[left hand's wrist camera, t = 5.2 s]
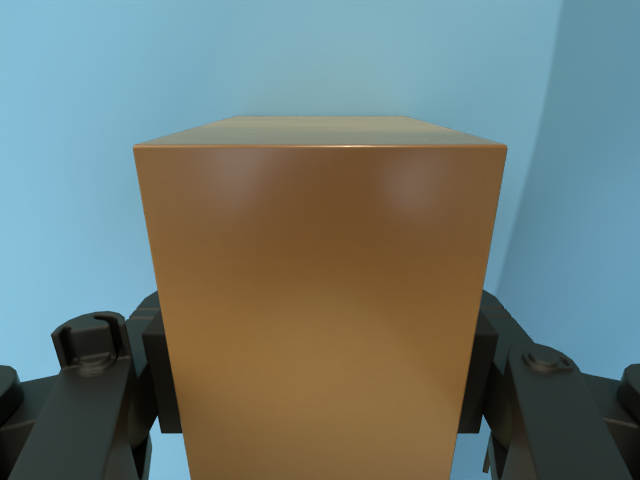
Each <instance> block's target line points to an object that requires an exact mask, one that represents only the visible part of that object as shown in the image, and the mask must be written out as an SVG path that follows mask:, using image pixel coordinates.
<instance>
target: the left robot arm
mask: <svg viewBox="0 0 640 480" xmlns="http://www.w3.org/2000/svg"><path fill="white" fill-rule="evenodd" d="M51 337H52V340H53V343H54V347H55V350H56V353H57V357H58V360H59V363H60V366H61V370H60V372H59V374H58V375H55V376H50V377H45V378H40V379H35V380H31V381H26V382H21V383H20V380H19V377H18V375H17V372H16V370H15V369H13V368H12V367H10V366H4V365H0V480H148V478H149V470H150V461H151V453H152V443H151V437H150V433H149V431H150V429H151V427H152V425H153V423H154V421H155V419H156V417H157V415H158V419H159V424H160V429H161V433H183V432H182V426H181V420H180V415H179V409H178V403H177V398H176V392H175V386H174V380H173V375H172V369H171V363H170V358H169V352H168V346H167V340H166V335H165V329H164V323H163V318H162V312H161V306H160V300H159V295H158V291H156V292H154V293H153V294H151V295H149V296H148V297H146V298H145V299H144V300H143V301H142V302H141V304H140V305H139V306H138V307H137V310H135V311H134V312H133V313H132V314H131V315H130V317H129V319H127V320H126V321H125V318H124V317H123V316H122V315H121V314H119V313H116V312H111V311H103V312H93V313H89V314H84V315H81V316H79V317H76V318H73V319H71V320H69V321H67V322H65V323H64V324H62V325H60V326H59V327H57V329H56V330H55V331H54V332H53V333H52V334H51ZM482 415H484V417H485V419H486V421H487V423H488V425H489V427H490V429H491V433H490V437H489V442H488V447H487V451H486V456H485V460H484V465H483V472H484V473H488V470H489V466H490V469H491V477H492V480H640V364H631V365H630V366H628V367H627V368H625V370H624V373H623V375H622V378H621V381H618V380H613V379H608V378H603V377H598V376H593V375H589V374H585V373H581V372H580V370H579V368H578V367H577V365H576V364H575V363H574V362H573V360H572V359H570V358H569V357H567V356H566V355H565V354H563V353H562V352H559V351H557V350H555V349H553V348H551V347H548V346H544V345H540V344H536V343H534V342H533V340H532V339H531V338H530V337H529V336H528V335H527V333H526V332H525V331H524V330H523V329H522V328H521V326H520V325H519V324H518V323H517V322H516V321H515V319H514V318H511V315H510V313H509V312H508V311H507V310H506V309H504V306H503V305H502V304H501V303H500V302H499V301H498V299H497V298H496V297H495V296H493V295H491V294H490V293H488V292H486V291H485V290H483V291H482V297H481V302H480V308H479V314H478V319H477V325H476V331H475V336H474V342H473V348H472V353H471V359H470V365H469V371H468V376H467V382H466V388H465V393H464V399H463V405H462V410H461V416H460V422H459V428H458V433H479V430H480V425H481V420H482Z"/></svg>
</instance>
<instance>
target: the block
mask: <svg viewBox="0 0 640 480" xmlns="http://www.w3.org/2000/svg"><path fill="white" fill-rule="evenodd" d="M133 152H134V158H135V163H136V169H137V175H138V181H139V186H140V192H141V198H142V203H143V209H144V215H145V221H146V226H147V232H148V238H149V243H150V249H151V255H152V261H153V266H154V272H155V278H156V283H157V289H158V295H159V300H160V306H161V312H162V318H163V323H164V329H165V335H166V340H167V346H168V352H169V358H170V363H171V369H172V375H173V380H174V386H175V392H176V398H177V403H178V409H179V415H180V420H181V426H182V432H183V438H184V443H185V449H186V455H187V460H188V466H189V472H190V477H191V480H449V479H450V473H451V467H452V462H453V456H454V450H455V445H456V439H457V433H458V428H459V422H460V416H461V410H462V405H463V399H464V393H465V388H466V382H467V376H468V371H469V365H470V359H471V353H472V348H473V342H474V336H475V331H476V325H477V319H478V314H479V308H480V302H481V297H482V291H483V285H484V279H485V274H486V268H487V262H488V257H489V251H490V245H491V240H492V234H493V228H494V223H495V217H496V211H497V205H498V200H499V194H500V188H501V183H502V177H503V171H504V166H505V160H506V154H507V145H505V144H501V143H498V142H494V141H491V140H487V139H484V138H480V137H477V136H473V135H470V134H466V133H462V132H459V131H455V130H452V129H448V128H445V127H441V126H438V125H434V124H431V123H427V122H424V121H420V120H417V119H413V118H410V117H406V116H234V117H231V118H227V119H224V120H220V121H217V122H213V123H209V124H206V125H202V126H199V127H195V128H192V129H188V130H185V131H181V132H178V133H174V134H171V135H167V136H164V137H160V138H157V139H153V140H150V141H146V142H142V143H139V144H136V145H134V146H133Z"/></svg>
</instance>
